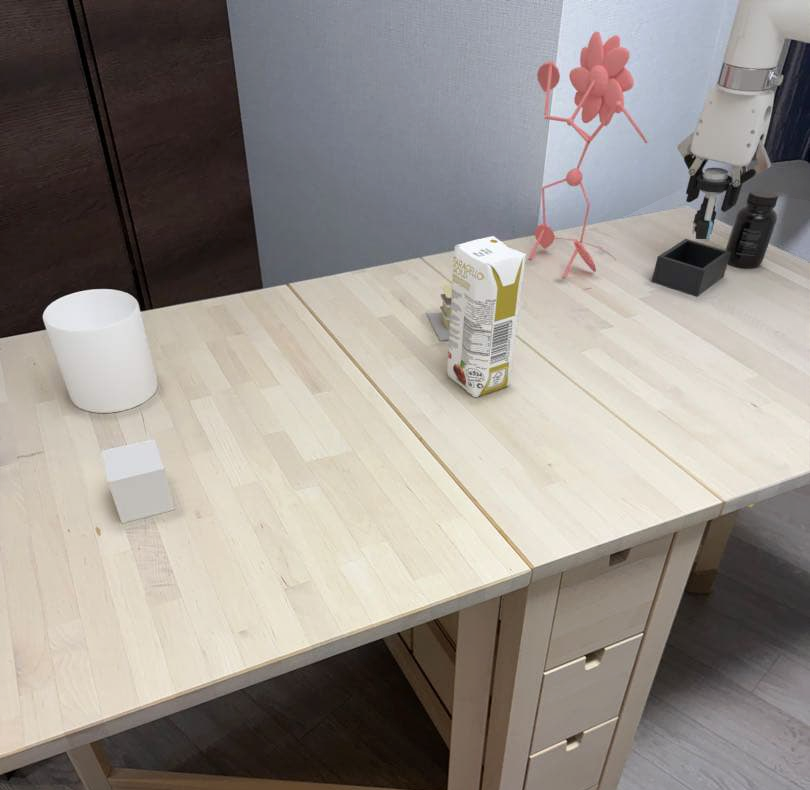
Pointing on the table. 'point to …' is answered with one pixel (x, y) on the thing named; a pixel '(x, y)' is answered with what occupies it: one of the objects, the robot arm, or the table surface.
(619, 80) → the figurine
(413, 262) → the table surface
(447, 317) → the stacked layers on plate
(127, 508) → the light grey cube
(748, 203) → the supplement bottle
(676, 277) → the open box
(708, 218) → the push button
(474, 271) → the juice carton
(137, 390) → the cup
